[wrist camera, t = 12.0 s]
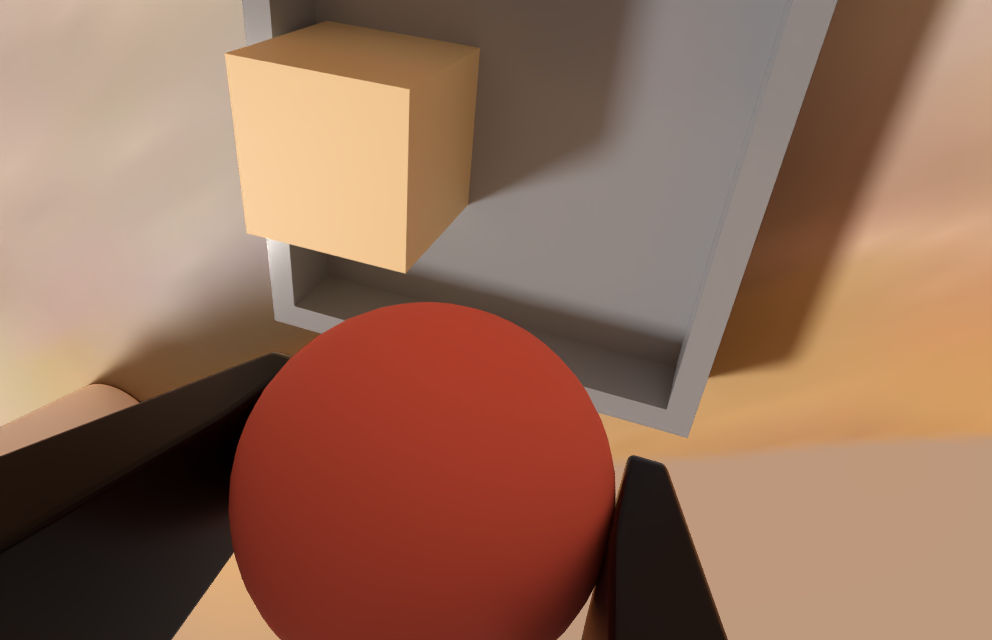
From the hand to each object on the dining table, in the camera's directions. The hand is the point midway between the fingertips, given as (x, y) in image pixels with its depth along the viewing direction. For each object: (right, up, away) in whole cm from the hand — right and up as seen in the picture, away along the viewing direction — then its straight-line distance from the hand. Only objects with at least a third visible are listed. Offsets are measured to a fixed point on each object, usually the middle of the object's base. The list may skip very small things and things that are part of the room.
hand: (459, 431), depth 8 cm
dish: (+1, +6, +9) cm, 11 cm away
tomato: (0, +1, +1) cm, 1 cm away
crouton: (-2, +6, +9) cm, 12 cm away
